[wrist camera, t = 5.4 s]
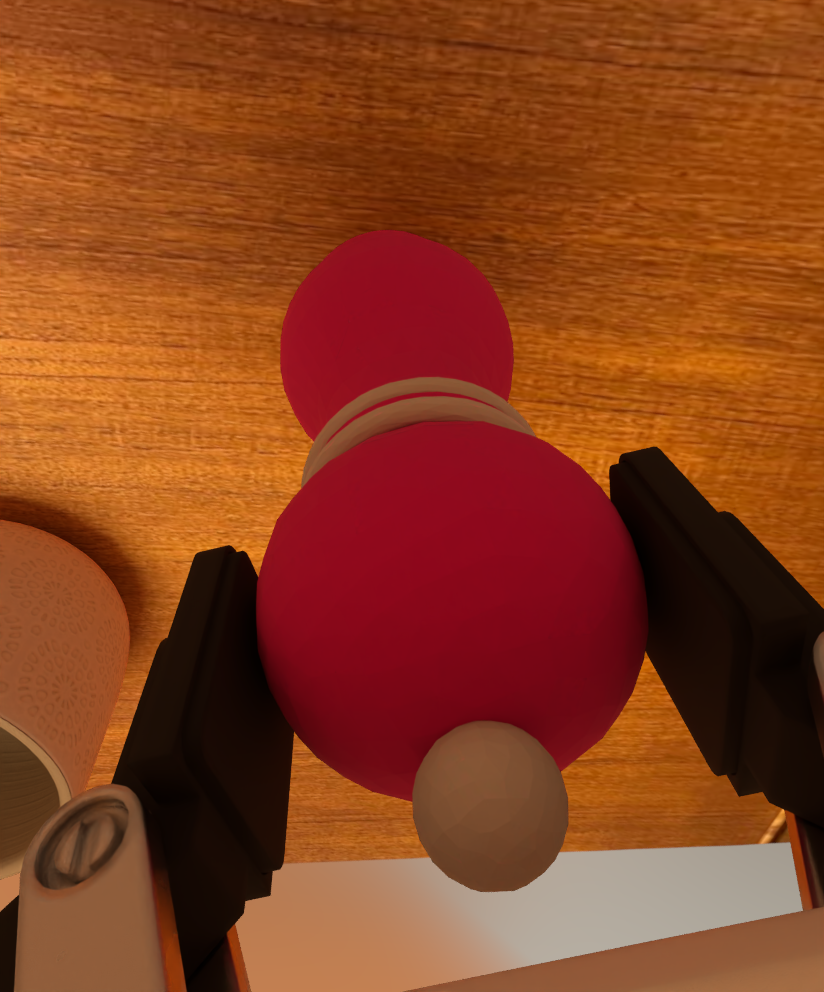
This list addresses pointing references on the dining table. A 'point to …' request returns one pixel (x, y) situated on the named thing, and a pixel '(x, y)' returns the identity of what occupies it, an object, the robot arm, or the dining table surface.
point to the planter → (52, 678)
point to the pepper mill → (441, 565)
